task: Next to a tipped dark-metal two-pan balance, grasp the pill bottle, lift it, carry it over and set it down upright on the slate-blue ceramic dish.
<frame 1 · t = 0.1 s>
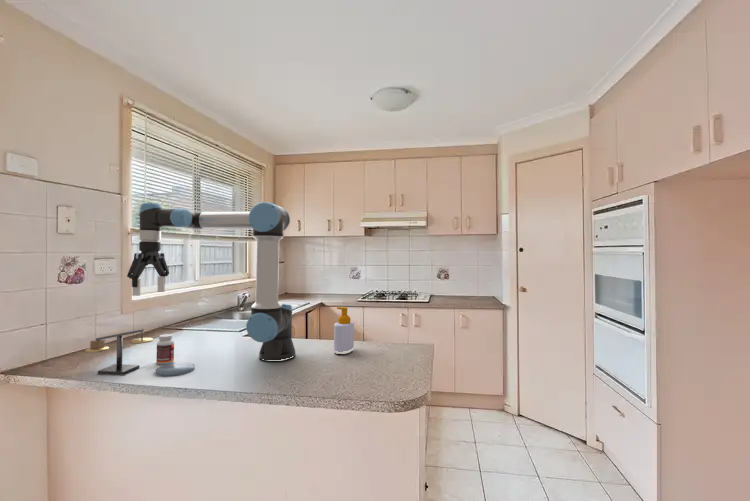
hand: (149, 293, 150), 28 cm above the table, fingers open, 13 cm apart
soap bottle: (343, 352, 170), on the table
dish: (175, 370, 140), on the table
balance: (119, 371, 138), on the table
pill bottle: (165, 363, 150), on the table
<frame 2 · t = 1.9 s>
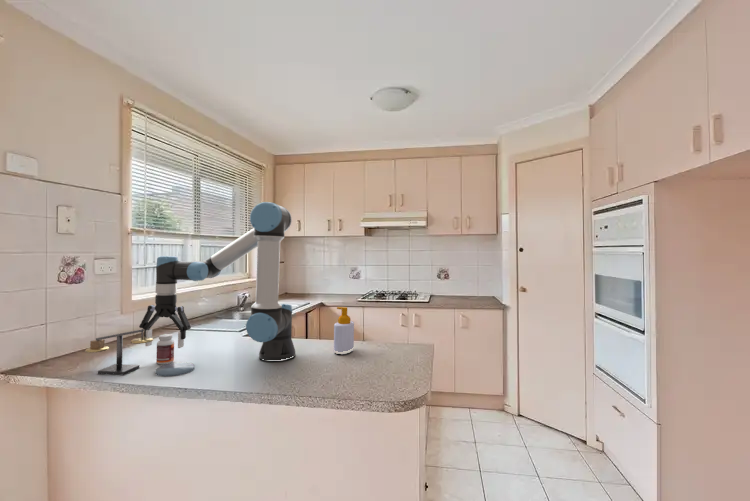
hand: (164, 346, 150), 6 cm above the table, fingers open, 13 cm apart
nothing on the table moved.
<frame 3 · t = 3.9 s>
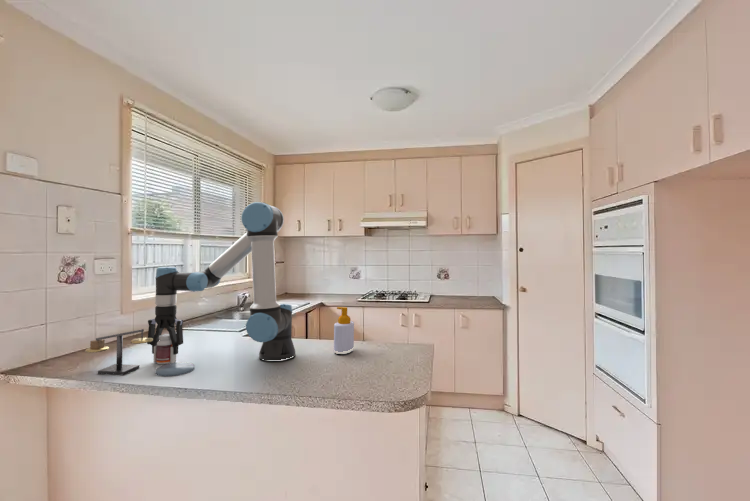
hand: (164, 361, 150), 0 cm above the table, fingers closed on pill bottle, 6 cm apart
pill bottle: (165, 363, 150), on the table, touching gripper
everything else where it was.
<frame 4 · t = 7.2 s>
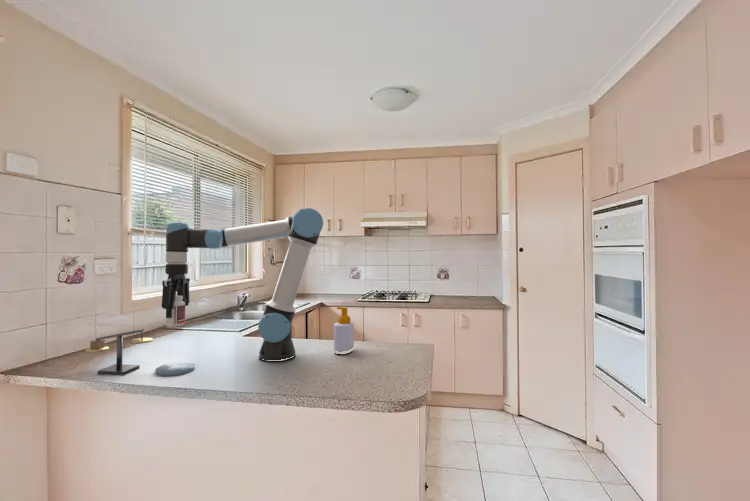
hand: (175, 324, 140), 17 cm above the table, fingers closed on pill bottle, 6 cm apart
pill bottle: (175, 325, 140), point 17 cm above the table, touching gripper
everything else where it was.
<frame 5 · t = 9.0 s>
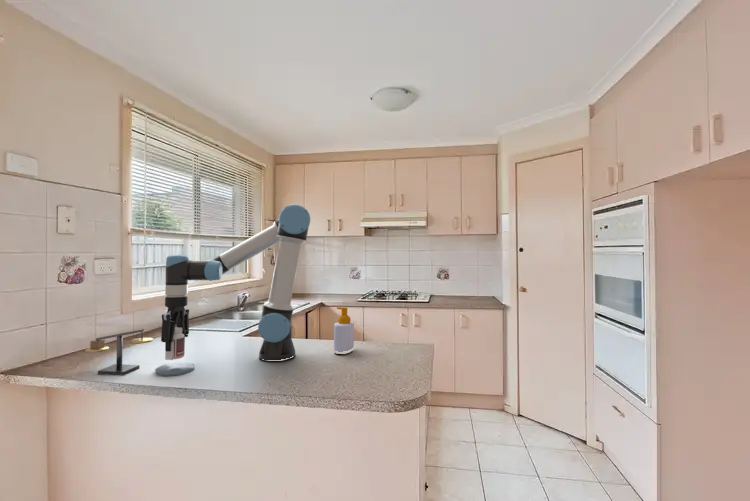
hand: (175, 356, 140), 5 cm above the table, fingers closed on pill bottle, 6 cm apart
pill bottle: (175, 358, 140), point 5 cm above the table, touching gripper
everything else where it was.
when the fingers open (3 cm above the table, at t = 10.4 s): pill bottle drops 1 cm, resting on dish.
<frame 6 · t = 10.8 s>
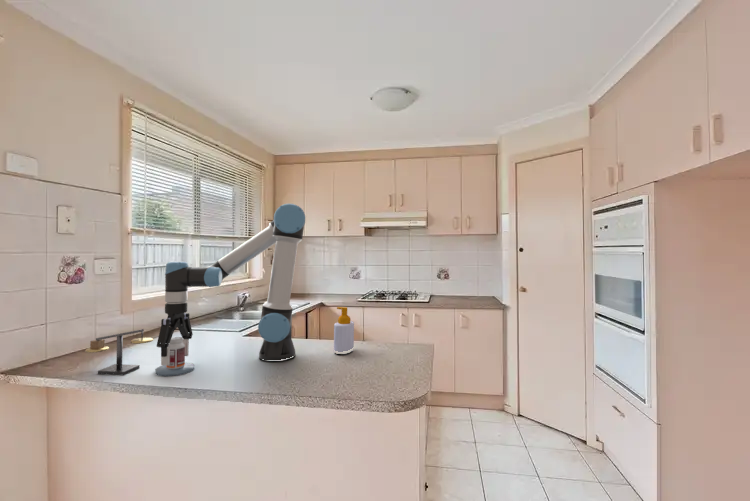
hand: (175, 360, 140), 4 cm above the table, fingers open, 11 cm apart
pill bottle: (175, 367, 140), point 1 cm above the table, touching dish
everything else where it was.
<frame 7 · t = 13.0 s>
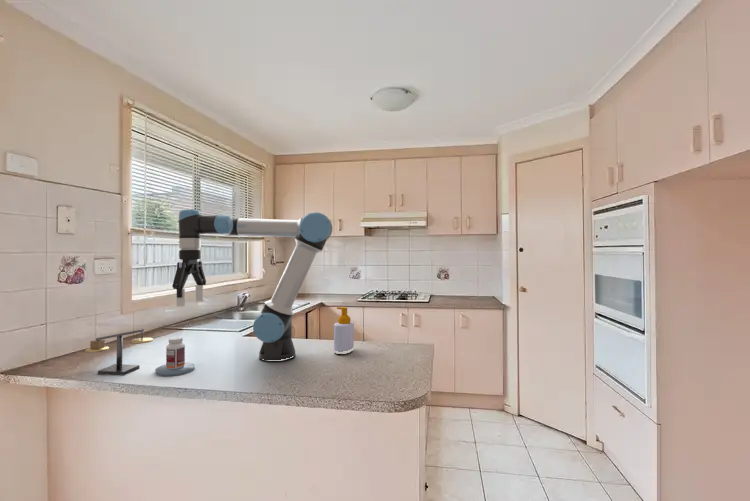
hand: (190, 303, 144), 25 cm above the table, fingers open, 13 cm apart
nothing on the table moved.
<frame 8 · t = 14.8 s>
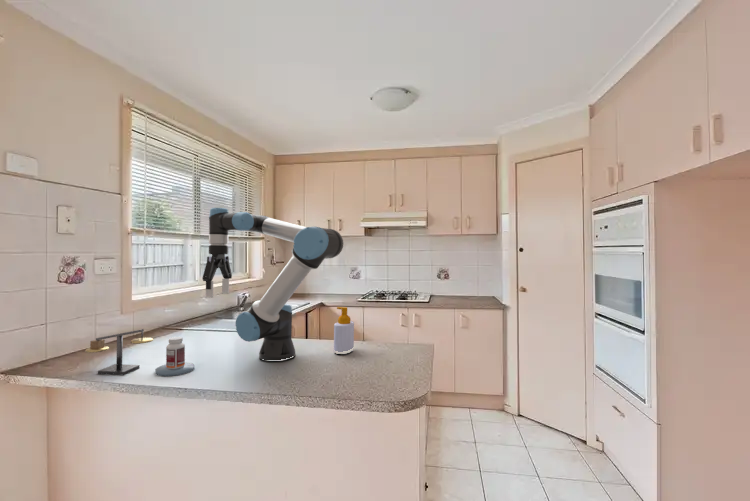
hand: (217, 295, 155), 27 cm above the table, fingers open, 13 cm apart
nothing on the table moved.
at the end: pill bottle 0.1 cm from the dish (horizontally); pill bottle tilted 0°; pill bottle touching dish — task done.
